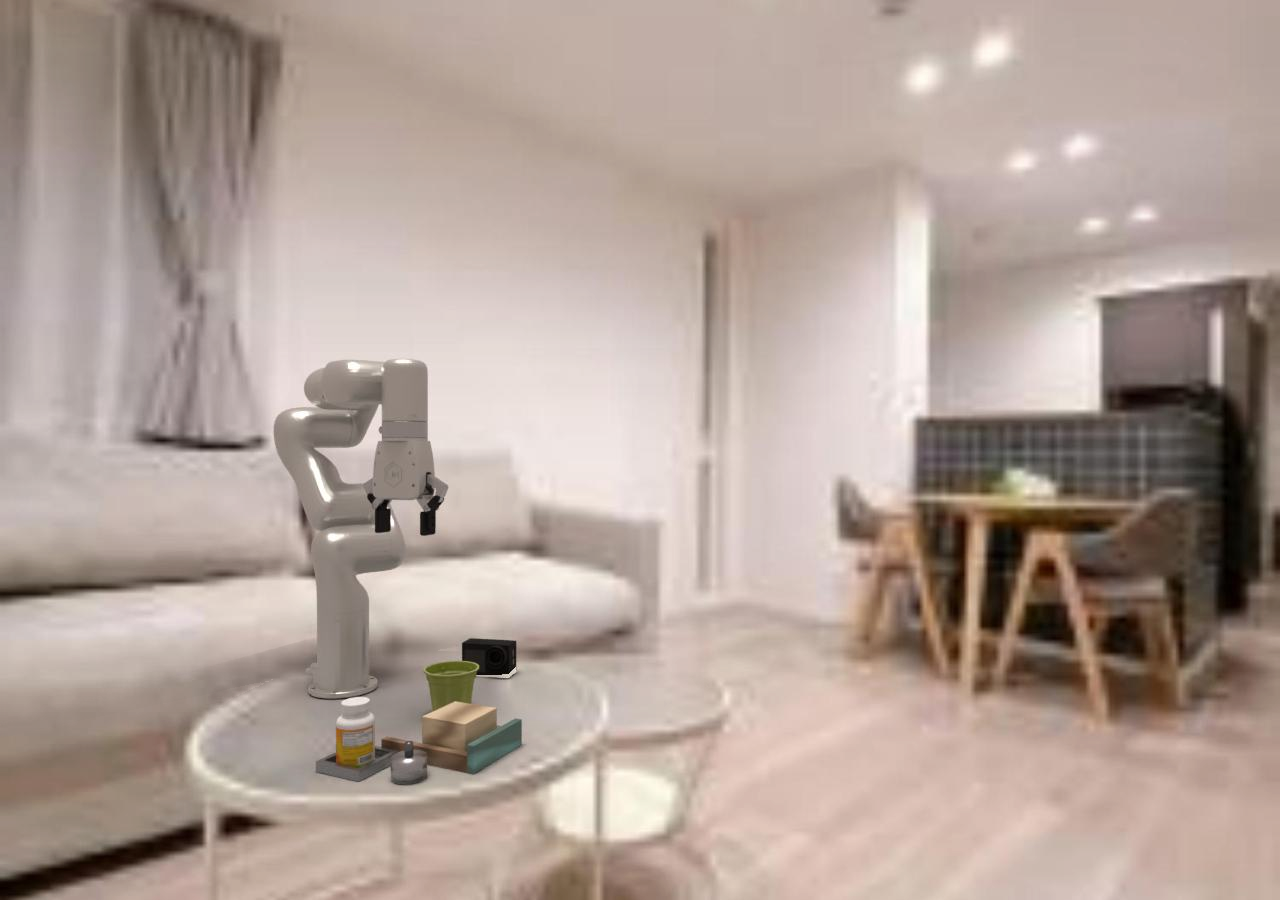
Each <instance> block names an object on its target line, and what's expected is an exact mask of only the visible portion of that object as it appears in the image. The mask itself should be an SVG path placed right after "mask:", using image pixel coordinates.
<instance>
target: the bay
mask: <svg viewBox="0 0 1280 900" xmlns="http://www.w3.org/2000/svg"><path fill="white" fill-rule="evenodd" d="M497 711H498V709H497V707H493V706H487V705H480V704H476V703H471V704H469V703H463V702H456V701H455V702H453V703H451V704H448V705H446V706H444V707H442V708H440V709H438V710H435V711H433V710H432V711H431V712H428V713H427V714H424V715H423V716H421V719H422V720H421V722H422V723H421V725H422V727H421V737H422V739H421V742H417V741H413V750H422V751H425V752H426V753H427V766H428V765H429V766H434V767H439V768H443V769H449V770H452V771H458V772H463V773H468V774H472V775H475V774H476V773H479V772H481V770H483V769H485V768H486V767H488V766H489V765H491V764H493V763H494V762H496V761H497V760H500V759H501V758H503V757H504V756H506V755H507V754H509V753H511V752H513V751H514V750H515V749H517V748H518V747H520V746H522V744H523V737H522V735H523V734H522V733H523V732H522V730H523V728H522V727H523V726H522V724H523V723H522V722H523V721H522V719H521V718H516V717H515V718H514V719H512V720H510V721H508V722H506V723H504V724H502V725H498V724H497V722H498V721H497V719H498V718H497ZM406 741H409V740H406V739H401V738H397V737H393V736H385V737H383V738H381V742H380V743H381V746H380V747H383V748H388V749H393V750H398V751H399V752H401V751H405V742H406Z"/></svg>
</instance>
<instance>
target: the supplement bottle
mask: <svg viewBox="0 0 1280 900" xmlns="http://www.w3.org/2000/svg"><path fill="white" fill-rule="evenodd" d="M370 709H371V699H370V698H369V697H366V696H353V697H348V698H347V699H344V700H342V701H341V702H340V712H341V715H340V716H339V717H337V719H336V721H335V752H336V763H338V764H343V765H347V766H352V767H356V768H360V767H362V766H364V765H366V764H368V763H370V762H372V761H374V760H376V758H375V746H376V740H375V739H376V737H375V736H376V728H375V727H376V723H375V722H376V721H375V720H376V719H375V715H374V714H373V713H372V712H369V711H370Z"/></svg>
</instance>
